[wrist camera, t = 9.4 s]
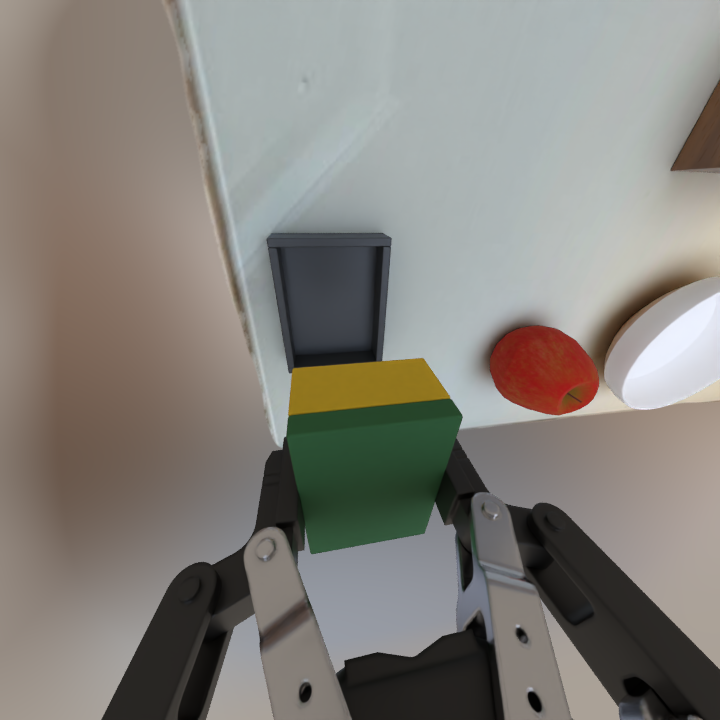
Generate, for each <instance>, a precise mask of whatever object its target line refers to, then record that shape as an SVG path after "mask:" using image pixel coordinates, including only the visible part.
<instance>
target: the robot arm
mask: <svg viewBox="0 0 720 720" xmlns="http://www.w3.org/2000/svg"><path fill="white" fill-rule="evenodd" d="M435 502H436V505H437V507H438V510H439V512H440V515H441V517H442V520H443V522H444V525H449V524H453V525H454V527H455V529H456V535H455V543H456V559H457V575H458V601H457V608H456V622H457V633H453V634H449V635H445V636H442V637H441V638H439V639H438V640H437V641H435V642H434V643H433V644H431V645H430V646H429V647H427V648H426V649H425V650H423V651H422V652H421V653H419V654H418V655H417V656H415V657H405V656H399V655H392V654H386V653H378V652H377V653H373V654H369V655H365V656H361V657H357V658H353V659H349V660H345V661H344V662H345V667H344V668H343V669H341V670H340V671H339V672H337V673H335V670H334V668H333V665H332V662H331V660H330V657H329V654H328V651H327V648H326V645H325V642H324V639H323V637H322V634H321V631H320V628H319V625H318V623H317V620H316V617H315V614H314V612H313V609H312V606H311V604H310V601H309V599H308V596H307V593H306V590H305V588H304V585H303V582H302V579H301V576H300V573H299V571H298V568H297V563H298V551H302V550H304V544H305V521H304V517H303V512H302V507H301V502H300V497H299V492H298V490H297V485H296V481H295V476H294V471H293V466H292V461H291V457H290V452H289V447H288V442H287V437H284V442H283V450H278V451H272V453H271V455H270V456H269V458H268V460H267V461H266V464H265V470H264V477H263V483H262V489H261V496H260V501H259V508H258V514H257V520H256V526H255V529H254V532H253V534H252V536H251V538H250V539H249V541H248V542H247V543H246V544H245V545H244V546H243V547H242V548H241V549H240V550H238V551H237V552H236V553H234V554H232V555H230V556H228V557H226V558H224V559H223V560H221V561H219V562H217V563H215V564H213V565H210V564H209V563H206V562H198V563H195V564H192V565H190V566H188V567H187V568H185V569H184V570H182V571H181V572H180V573H179V574H178V575H177V576H176V577H175V578H174V580H173V581H172V583H171V584H170V586H169V587H168V589H167V591H166V593H165V595H164V597H163V599H162V601H161V603H160V605H159V607H158V609H157V611H156V613H155V615H154V617H153V619H152V621H151V623H150V624H149V627H148V628H147V631H146V632H145V634H144V637H143V638H142V640H141V642H140V644H139V646H138V648H137V650H136V652H135V654H134V656H133V658H132V660H131V662H130V664H129V666H128V668H127V670H126V672H125V674H124V676H123V678H122V680H121V682H120V684H119V686H118V688H117V690H116V692H115V694H114V696H113V698H112V700H111V702H110V704H109V706H108V708H107V710H106V712H105V714H104V716H103V718H102V720H206V717H207V714H208V711H209V708H210V704H211V701H212V698H213V694H214V691H215V688H216V685H217V681H218V678H219V675H220V672H221V668H222V665H223V662H224V658H225V655H226V652H227V649H228V645H229V642H230V639H231V635H232V632H233V629H234V627H235V626H236V625H238V624H239V623H241V622H242V621H244V620H245V619H247V618H248V617H250V616H252V615H253V614H255V616H256V620H257V625H258V630H259V636H260V653H261V659H262V664H263V669H264V674H265V679H266V684H267V688H268V693H269V698H270V703H271V708H272V713H273V717H274V720H573V719H572V718H571V715H570V711H569V707H568V703H567V700H566V696H565V692H564V688H563V684H562V681H561V677H560V673H559V669H558V665H557V661H556V658H555V654H554V650H553V646H552V642H551V638H550V635H549V631H548V627H547V623H546V620H545V616H544V613H543V608H542V604H541V601H540V598H541V600H542V601H543V603H544V604H545V605H546V607H547V608H548V610H549V611H550V612H551V614H552V615H553V617H554V618H555V619H556V621H557V622H558V623H559V625H560V626H561V628H562V629H563V630H564V632H565V633H566V634H567V636H568V637H569V638H570V640H571V641H572V643H573V644H574V646H575V647H576V649H577V650H578V651H579V653H580V654H581V655H582V657H583V658H584V660H585V661H586V662H587V664H588V665H589V666H590V668H591V669H592V671H593V672H594V674H595V675H596V676H597V678H598V679H599V681H600V682H601V683H602V685H603V686H604V687H605V689H606V690H607V692H608V693H609V694H610V696H611V697H612V699H613V700H614V701H615V703H616V704H617V706H618V707H619V717H620V720H720V669H719V668H718V667H717V666H716V665H715V664H714V663H713V662H712V661H711V660H710V659H709V658H708V657H707V656H706V655H705V654H704V653H703V652H702V651H701V650H700V649H699V648H698V647H697V646H696V645H695V644H694V643H693V642H692V641H691V640H690V639H689V638H688V637H687V636H686V635H685V634H684V633H683V632H682V631H681V630H680V629H679V628H678V627H677V626H676V625H675V624H674V623H673V622H672V621H671V620H670V619H669V618H668V617H667V616H666V615H665V614H664V613H663V612H662V611H661V610H660V608H659V607H658V606H657V605H656V604H655V603H654V602H653V601H651V599H650V598H649V597H648V596H647V595H646V594H645V593H643V591H642V590H641V589H640V588H639V587H638V586H637V585H636V584H635V583H634V582H633V581H632V580H631V579H630V578H629V577H628V576H627V575H626V574H625V573H624V572H623V571H622V570H621V569H620V568H619V567H618V566H617V565H616V564H615V563H614V562H613V561H612V560H611V559H610V558H609V557H608V556H607V555H606V554H605V553H604V552H603V551H602V550H601V549H600V548H599V547H598V546H597V545H596V544H595V543H594V542H593V541H592V540H591V539H590V538H589V537H588V536H587V535H586V534H585V533H584V532H583V531H582V529H580V527H579V526H577V524H576V523H575V522H574V521H572V519H571V518H570V517H569V516H568V515H567V514H566V513H564V512H563V511H562V510H560V509H559V508H558V507H556V506H554V505H551V504H548V503H538V504H536V505H535V506H534V507H533V509H527V508H522V507H516V506H511V505H508V504H505V503H504V502H503V501H502V500H500V499H499V498H498V497H496V496H495V495H493V494H490V492H489V491H488V490H487V488H486V487H485V485H484V484H483V482H482V480H481V479H480V477H479V475H478V474H477V472H476V471H475V469H474V467H473V465H472V464H471V462H470V460H469V459H468V458H467V455H466V454H465V452H464V450H462V447H461V445H460V444H459V442H458V440H457V439H455V442H454V445H453V448H452V451H451V454H450V457H449V461H448V464H447V467H446V470H445V472H444V475H443V478H442V481H441V484H440V488H439V491H438V494H437V497H436V500H435ZM518 639H519V640H518Z"/></svg>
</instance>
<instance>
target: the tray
mask: <svg viewBox="0 0 720 720" xmlns="http://www.w3.org/2000/svg"><path fill="white" fill-rule="evenodd" d="M267 244H268V247H269V248H268V250H269V256H270V263H271V269H272V275H273V281H274V287H275V293H276V299H277V305H278V311H279V317H280V323H281V329H282V335H283V341H284V347H285V353H286V359H287V365H288V371H289V373H292V370H293V369H294V368H303V367H316V366H329V365H341V364H354V363H367V362H380V361H382V356H383V343H384V330H385V317H386V304H387V291H388V278H389V265H390V252H391V247H390V246H391V237H389V236H387V235H385V234H383V233H272V234H271V235H270V236H269V237H268V238H267Z"/></svg>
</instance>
